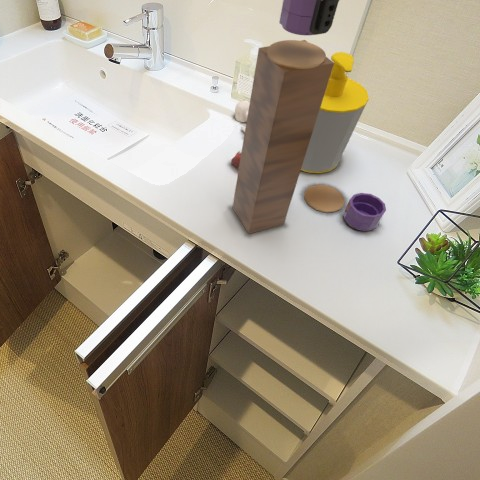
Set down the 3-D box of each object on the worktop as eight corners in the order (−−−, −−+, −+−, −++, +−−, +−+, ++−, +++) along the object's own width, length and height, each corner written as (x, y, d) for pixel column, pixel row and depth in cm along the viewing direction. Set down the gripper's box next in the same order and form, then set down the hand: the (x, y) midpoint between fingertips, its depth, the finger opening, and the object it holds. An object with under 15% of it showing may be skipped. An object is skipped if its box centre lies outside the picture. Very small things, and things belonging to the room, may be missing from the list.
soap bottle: (287, 177, 83) (316, 76, 67) (273, 138, 91) (295, 40, 75) (352, 174, 83) (396, 73, 67) (331, 135, 91) (366, 38, 75)
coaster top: (336, 63, 52) (337, 61, 52) (284, 73, 50) (284, 70, 50) (305, 38, 56) (306, 36, 56) (256, 47, 55) (256, 45, 55)
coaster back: (352, 207, 77) (352, 206, 77) (317, 216, 76) (317, 215, 76) (329, 182, 82) (330, 181, 82) (296, 190, 80) (297, 189, 80)
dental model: (230, 149, 82) (252, 132, 86) (227, 166, 85) (248, 148, 89) (253, 162, 80) (275, 143, 84) (249, 178, 83) (271, 160, 87)
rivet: (269, 154, 88) (270, 148, 87) (262, 157, 88) (264, 151, 87) (244, 128, 94) (245, 122, 93) (238, 130, 93) (239, 124, 92)
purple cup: (384, 227, 74) (393, 212, 71) (355, 235, 73) (363, 220, 70) (363, 205, 78) (371, 189, 74) (336, 213, 76) (343, 197, 73)
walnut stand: (283, 224, 75) (334, 62, 52) (248, 234, 73) (284, 72, 51) (265, 199, 79) (305, 39, 56) (232, 207, 78) (258, 47, 55)
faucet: (248, 130, 101) (244, 89, 96) (293, 149, 86) (292, 103, 81) (233, 135, 100) (229, 94, 95) (277, 156, 86) (274, 109, 80)
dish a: (337, 32, 49) (348, -5, 46) (293, 40, 48) (302, 3, 45) (311, 14, 53) (319, -22, 50) (270, 20, 52) (276, -15, 49)
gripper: (274, -178, 41) (249, 4, 54) (363, -162, 32) (308, 52, 45) (339, -181, 43) (300, -3, 56) (441, -167, 34) (367, 42, 47)
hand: (304, 21), depth 50 cm, fingers closed on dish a, 6 cm apart
